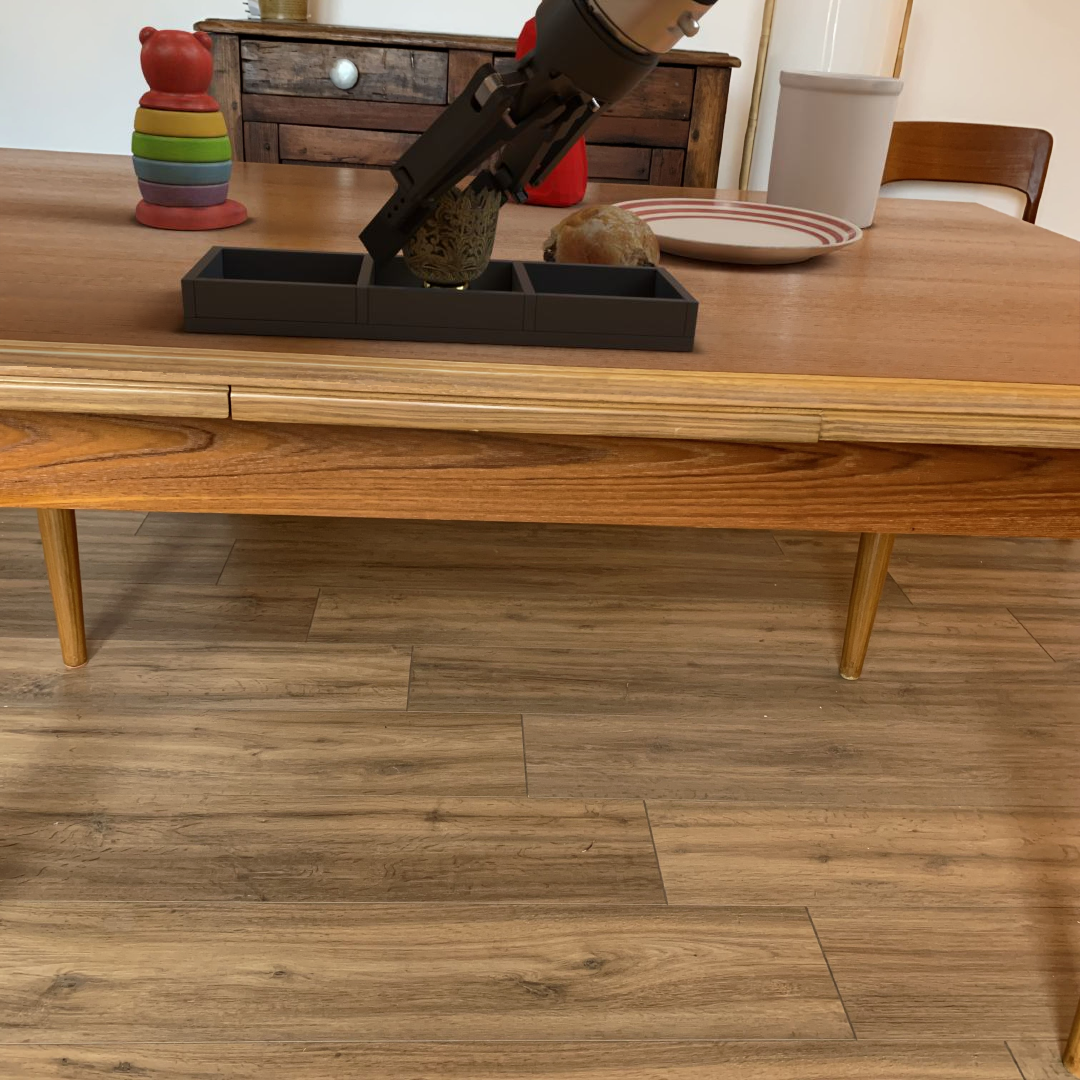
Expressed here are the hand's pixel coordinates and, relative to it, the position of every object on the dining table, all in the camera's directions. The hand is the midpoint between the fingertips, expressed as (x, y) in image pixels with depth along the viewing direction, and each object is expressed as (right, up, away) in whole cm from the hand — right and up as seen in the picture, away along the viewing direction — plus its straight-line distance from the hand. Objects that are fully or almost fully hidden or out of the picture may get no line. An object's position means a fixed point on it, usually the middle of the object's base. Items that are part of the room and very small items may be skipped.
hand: (409, 245), depth 80 cm
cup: (+3, -4, 0) cm, 5 cm away
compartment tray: (+2, -5, 0) cm, 6 cm away
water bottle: (+10, +21, +60) cm, 64 cm away
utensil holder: (+45, +20, +62) cm, 79 cm away
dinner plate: (+30, +10, +38) cm, 49 cm away
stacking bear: (-26, +10, +31) cm, 41 cm away
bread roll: (+15, +2, +20) cm, 25 cm away
